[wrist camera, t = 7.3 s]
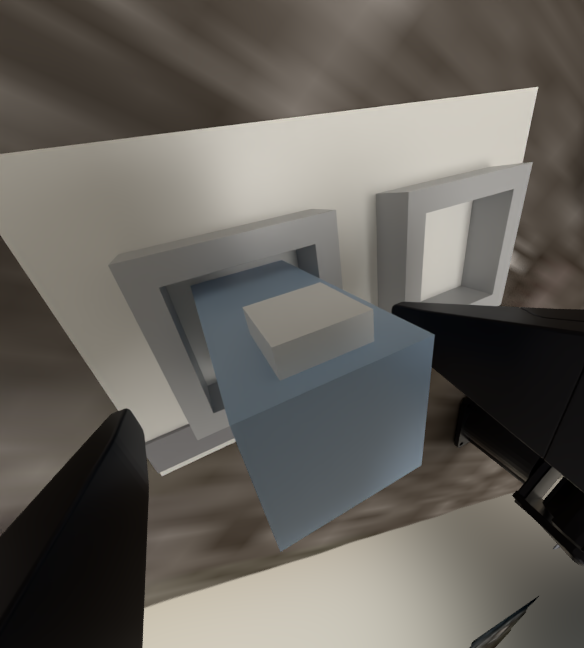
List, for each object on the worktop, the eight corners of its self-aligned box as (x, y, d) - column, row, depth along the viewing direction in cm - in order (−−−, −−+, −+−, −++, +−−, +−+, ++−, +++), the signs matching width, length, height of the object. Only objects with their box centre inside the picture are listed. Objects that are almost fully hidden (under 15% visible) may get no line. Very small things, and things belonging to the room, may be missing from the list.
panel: (476, 318, 21) (518, 333, 19) (162, 460, 14) (161, 514, 12) (516, 93, 14) (590, 70, 12) (-27, 165, 8) (-119, 146, 5)
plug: (296, 336, 14) (421, 465, 7) (219, 365, 12) (280, 551, 6) (278, 243, 11) (438, 301, 5) (183, 268, 10) (215, 390, 4)
